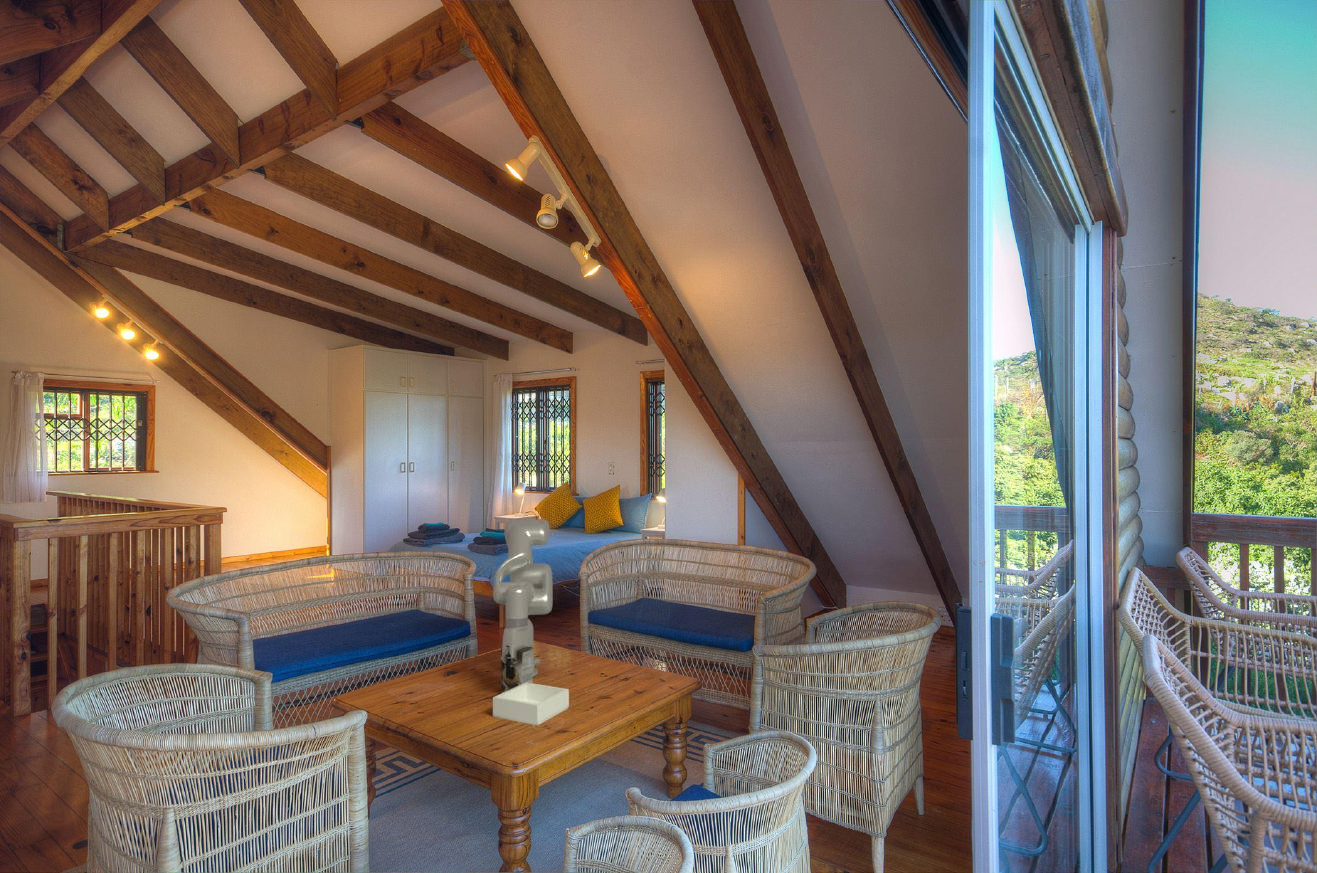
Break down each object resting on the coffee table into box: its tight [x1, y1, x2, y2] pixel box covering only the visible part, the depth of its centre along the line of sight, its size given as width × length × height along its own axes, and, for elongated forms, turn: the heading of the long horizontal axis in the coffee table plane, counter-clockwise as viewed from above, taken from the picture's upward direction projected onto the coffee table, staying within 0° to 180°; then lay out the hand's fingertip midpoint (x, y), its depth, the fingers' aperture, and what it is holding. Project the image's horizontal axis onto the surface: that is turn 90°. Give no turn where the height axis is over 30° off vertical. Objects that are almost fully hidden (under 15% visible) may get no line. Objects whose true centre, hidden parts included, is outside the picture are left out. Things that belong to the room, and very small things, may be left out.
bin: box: [492, 682, 570, 726], centre depth 234 cm, size 17×17×6 cm
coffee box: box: [500, 646, 534, 694], centre depth 252 cm, size 9×6×16 cm
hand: (516, 674), depth 252 cm, fingers closed on coffee box, 6 cm apart
